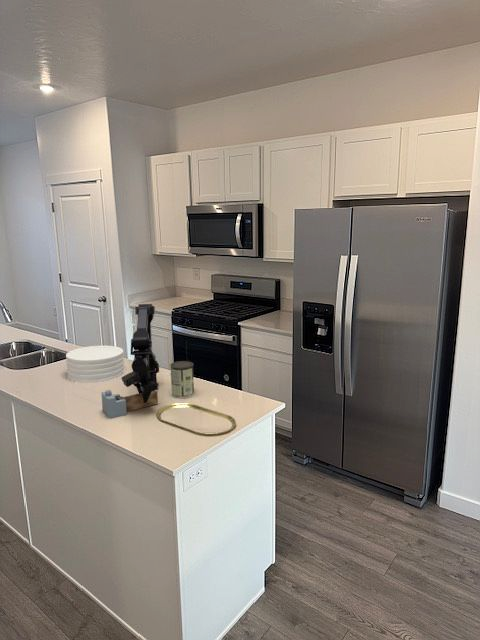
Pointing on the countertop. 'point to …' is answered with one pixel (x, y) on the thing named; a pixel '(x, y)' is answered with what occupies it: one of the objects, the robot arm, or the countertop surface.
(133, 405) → the brown wooden bar
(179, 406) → the serving platter
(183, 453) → the countertop surface
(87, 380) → the plate stack
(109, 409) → the stepped blue block
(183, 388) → the coffee can
